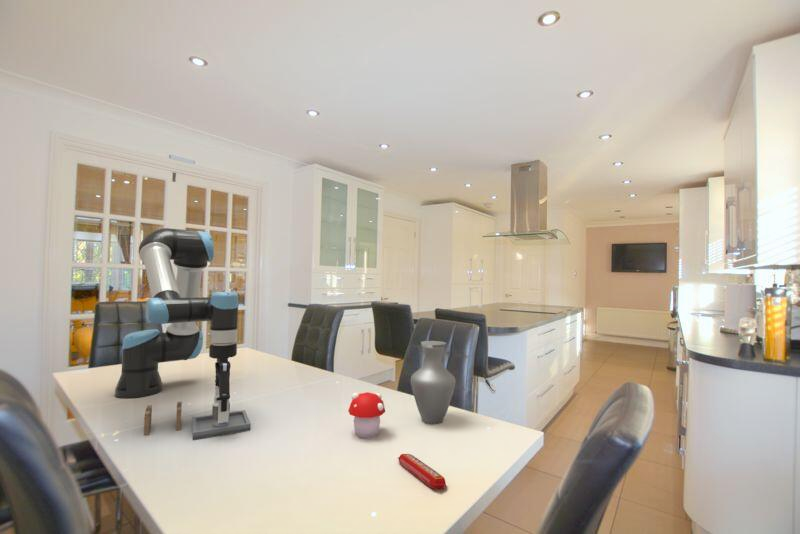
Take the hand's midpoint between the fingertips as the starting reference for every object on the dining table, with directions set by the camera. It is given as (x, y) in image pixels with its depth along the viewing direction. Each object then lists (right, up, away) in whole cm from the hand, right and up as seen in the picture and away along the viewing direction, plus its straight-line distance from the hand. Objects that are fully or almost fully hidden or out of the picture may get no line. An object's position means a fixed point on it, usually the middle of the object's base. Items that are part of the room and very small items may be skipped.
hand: (221, 414), depth 114 cm
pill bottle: (0, -3, 0) cm, 3 cm away
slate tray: (0, -4, 0) cm, 4 cm away
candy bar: (+58, -4, -26) cm, 64 cm away
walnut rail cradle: (-17, -3, -1) cm, 17 cm away
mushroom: (+44, -5, -3) cm, 44 cm away
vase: (+64, -5, +8) cm, 65 cm away
